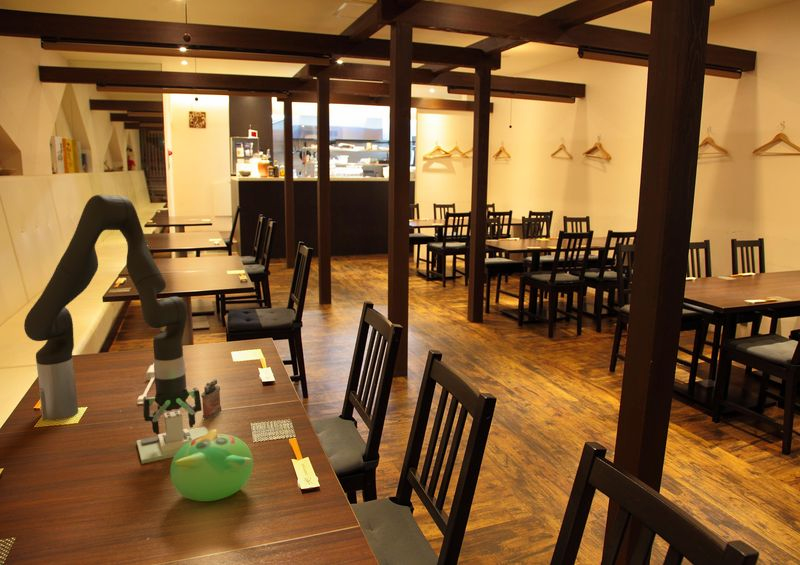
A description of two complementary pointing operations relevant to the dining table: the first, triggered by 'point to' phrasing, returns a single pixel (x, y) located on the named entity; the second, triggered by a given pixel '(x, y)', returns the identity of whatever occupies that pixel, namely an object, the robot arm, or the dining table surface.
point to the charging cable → (151, 377)
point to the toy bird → (211, 467)
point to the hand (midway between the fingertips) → (174, 429)
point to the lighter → (211, 400)
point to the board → (165, 445)
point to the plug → (173, 426)
